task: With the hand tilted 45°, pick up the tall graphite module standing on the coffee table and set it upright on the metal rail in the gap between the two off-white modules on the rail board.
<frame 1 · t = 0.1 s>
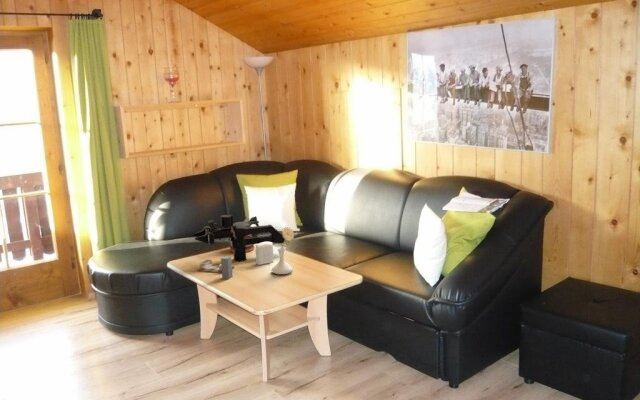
hand: (194, 236, 334), 17 cm above the table, tool horizontal, fingers open, 9 cm apart
beer stein: (245, 249, 366), on the table
graphite module: (227, 277, 315), on the table
photo printer: (265, 263, 337), on the table
rail board: (215, 269, 328), on the table
flower in vase: (283, 272, 320), on the table
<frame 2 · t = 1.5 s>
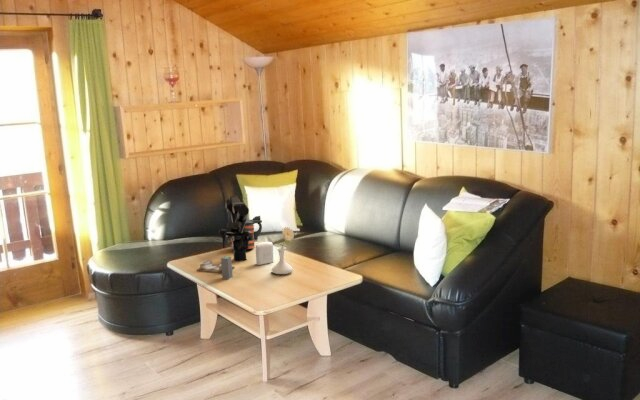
hand: (230, 248, 319), 14 cm above the table, tool tilted 45°, fingers open, 9 cm apart
beer stein: (245, 247, 366), point 1 cm above the table
everything else where it was.
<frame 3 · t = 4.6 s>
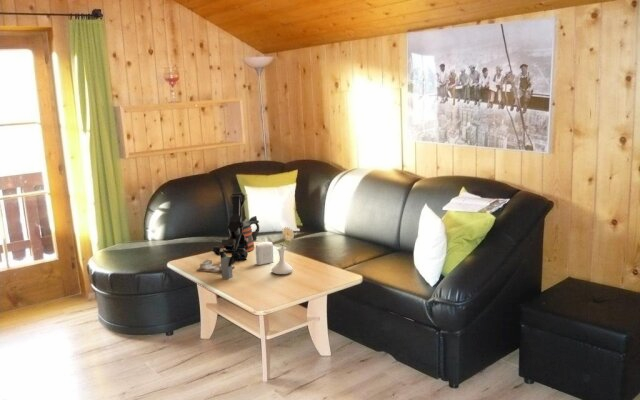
hand: (225, 266, 312), 7 cm above the table, tool tilted 45°, fingers closed on graphite module, 4 cm apart
graphite module: (227, 277, 315), on the table, touching gripper
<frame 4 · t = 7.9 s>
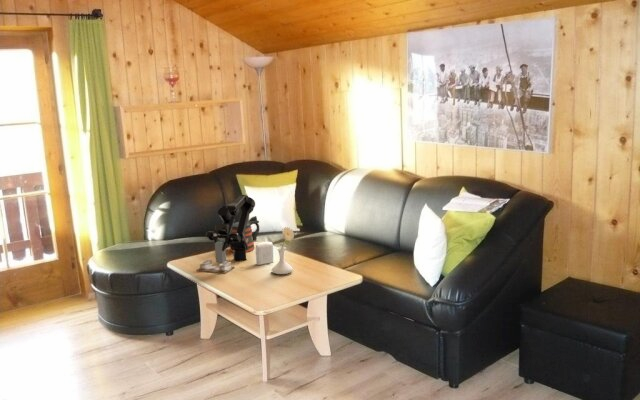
hand: (218, 250, 318), 13 cm above the table, tool tilted 45°, fingers closed on graphite module, 4 cm apart
graphite module: (221, 261, 320), point 7 cm above the table, touching gripper
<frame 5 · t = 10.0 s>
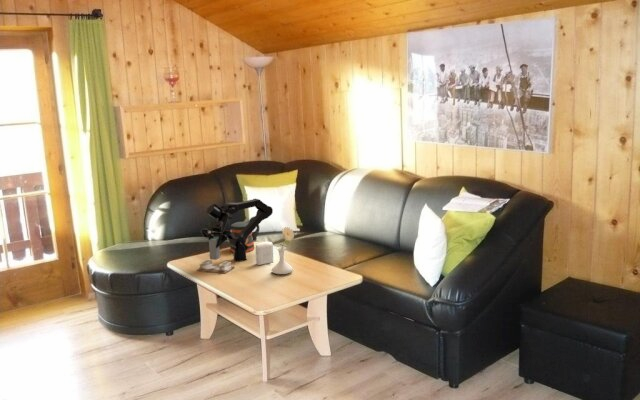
hand: (213, 247, 324), 13 cm above the table, tool tilted 45°, fingers closed on graphite module, 4 cm apart
graphite module: (215, 258, 327), point 6 cm above the table, touching gripper
when the fingers open (9 cm above the table, at t = 11.5 s): graphite module stays where it is, resting on rail board.
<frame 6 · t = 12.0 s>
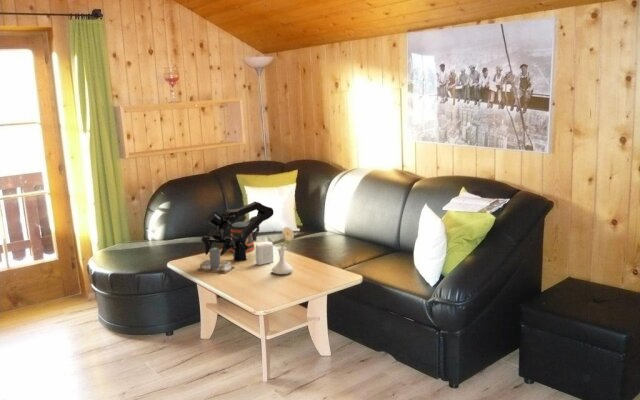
hand: (213, 255, 325), 9 cm above the table, tool tilted 45°, fingers open, 9 cm apart
graphite module: (215, 267, 328), point 1 cm above the table, touching rail board
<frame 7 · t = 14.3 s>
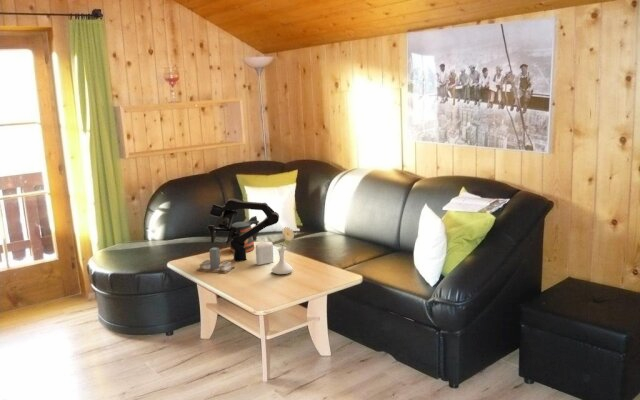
hand: (219, 243, 330), 14 cm above the table, tool tilted 45°, fingers open, 9 cm apart
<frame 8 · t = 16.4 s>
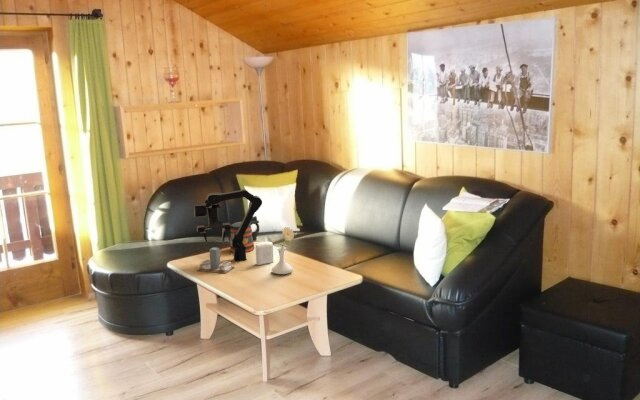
hand: (214, 242, 339), 12 cm above the table, tool pointing down, fingers open, 9 cm apart
at the end: graphite module 0.0 cm off-centre on the rail board, point 1.0 cm above the rail board's base; graphite module tilted 0°; the gripper is holding nothing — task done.
